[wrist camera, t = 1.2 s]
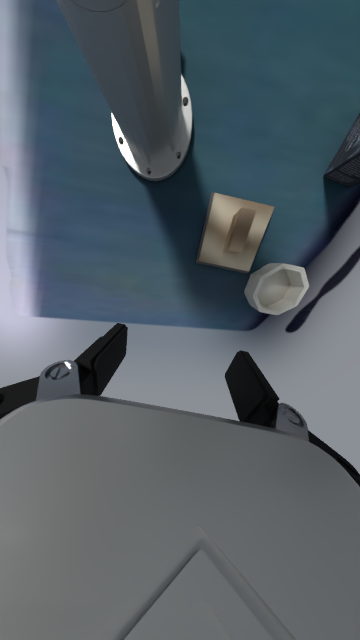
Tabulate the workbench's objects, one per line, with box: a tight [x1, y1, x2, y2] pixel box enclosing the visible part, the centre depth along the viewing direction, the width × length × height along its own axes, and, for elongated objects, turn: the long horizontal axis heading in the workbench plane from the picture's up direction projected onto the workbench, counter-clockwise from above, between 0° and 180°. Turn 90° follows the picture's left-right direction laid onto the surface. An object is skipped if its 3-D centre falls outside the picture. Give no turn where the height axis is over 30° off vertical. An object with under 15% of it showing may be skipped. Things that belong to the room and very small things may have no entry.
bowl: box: [244, 263, 309, 315], centre depth 28 cm, size 10×10×4 cm
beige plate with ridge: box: [199, 193, 274, 271], centre depth 23 cm, size 11×11×5 cm
